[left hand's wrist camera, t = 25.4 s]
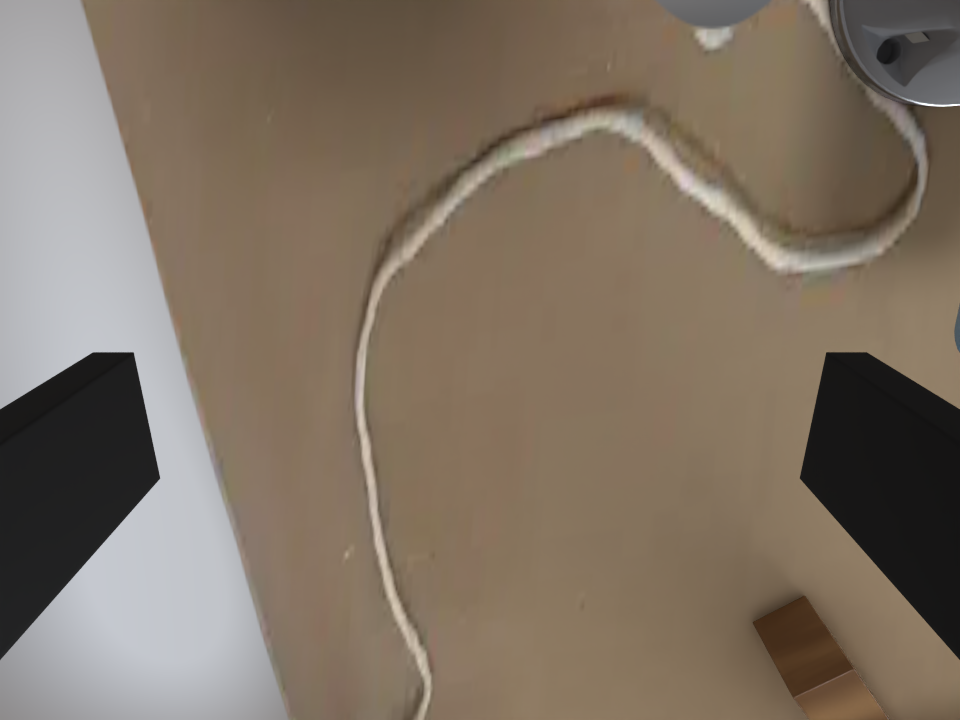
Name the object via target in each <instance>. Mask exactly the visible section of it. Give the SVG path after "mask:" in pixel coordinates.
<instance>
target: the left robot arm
mask: <svg viewBox="0 0 960 720" xmlns="http://www.w3.org/2000/svg"><path fill="white" fill-rule="evenodd" d="M830 8H831V17H832V24H833V28H834V32H835V36H836V39H837V42H838V44H839V47H840V49H841V51H842V54H843V56H844V58H845V59H846V61H847V63H848V64H849V66H850V67H851V69H852V70H853V71H854V72H855V74H856V75H857V76H858V77H859V78H860V79H861V80H862V81H863V82H864V83H865V84H866V85H867V86H869V87H870V88H871V89H873V90H874V91H875V92H877V93H879V94H881V95H882V96H884V97H886V98H889V99H891V100H893V101H896V102H900V103H903V104H908V105H914V106H926V107H934V106H956V105H960V0H830ZM955 342H956V346H957V349H958V350H959V352H960V305H959V310H958V315H957V319H956V324H955ZM159 479H160V475H159V471H158V466H157V461H156V456H155V452H154V447H153V442H152V438H151V433H150V428H149V423H148V419H147V414H146V409H145V404H144V399H143V395H142V390H141V385H140V381H139V376H138V371H137V366H136V362H135V357H134V353H133V352H130V353H129V352H128V353H126V352H125V353H124V352H118V353H117V352H115V353H114V352H112V353H111V352H109V353H107V352H100V353H99V352H96V353H92V354H90V355H88V356H87V357H85V358H83V359H82V360H80V361H78V362H77V363H75V364H74V365H72V366H70V367H69V368H67V369H65V370H64V371H62V372H60V373H59V374H57V375H56V376H54V377H52V378H51V379H49V380H47V381H46V382H44V383H43V384H41V385H39V386H38V387H36V388H34V389H33V390H31V391H29V392H28V393H26V394H25V395H23V396H21V397H20V398H18V399H16V400H15V401H13V402H12V403H10V404H8V405H7V406H5V407H3V408H2V409H0V659H1V658H2V657H3V656H4V655H5V654H6V653H7V652H8V650H9V649H10V648H11V647H12V646H13V645H14V644H15V642H16V641H17V640H18V639H19V638H20V637H21V636H22V635H23V633H24V632H25V631H26V630H27V629H28V628H29V627H30V625H31V624H32V623H33V622H34V621H35V620H36V619H37V618H38V616H39V615H40V614H41V613H42V612H43V611H44V610H45V608H46V607H47V606H48V605H49V604H50V603H51V602H52V600H53V599H54V598H55V597H56V596H57V595H58V594H59V593H60V591H61V590H62V589H63V588H64V587H65V586H66V585H67V584H68V582H69V581H70V580H71V579H72V578H73V577H74V576H75V574H76V573H77V572H78V571H79V570H80V569H81V568H82V566H83V565H84V564H85V563H86V562H87V561H88V560H89V559H90V557H91V556H92V555H93V554H94V553H95V552H96V551H97V549H98V548H99V547H100V546H101V545H102V544H103V543H104V542H105V540H106V539H107V538H108V537H109V536H110V535H111V533H112V532H113V531H114V530H115V529H116V528H117V527H118V526H119V525H120V523H121V522H122V521H123V520H124V519H125V518H126V517H127V515H128V514H129V513H130V512H131V511H132V510H133V509H134V507H135V506H136V505H137V504H138V503H139V502H140V501H141V500H142V498H143V497H144V496H145V495H146V494H147V493H148V492H149V490H150V489H151V488H152V487H153V486H154V485H155V484H156V483H157V481H158V480H159ZM800 479H801V480H802V481H803V483H804V484H805V485H806V486H807V487H808V488H809V489H810V490H811V492H812V493H813V494H814V495H815V496H816V497H817V498H818V500H819V501H820V502H821V503H822V504H823V505H824V506H825V507H826V509H827V510H828V511H829V512H830V513H831V514H832V515H833V517H834V518H835V519H836V520H837V521H838V522H839V523H840V525H841V526H842V527H843V528H844V529H845V530H846V531H847V532H848V534H849V535H850V536H851V537H852V538H853V539H854V540H855V542H856V543H857V544H858V545H859V546H860V547H861V548H862V549H863V551H864V552H865V553H866V554H867V555H868V556H869V557H870V559H871V560H872V561H873V562H874V563H875V564H876V565H877V566H878V568H879V569H880V570H881V571H882V572H883V573H884V574H885V576H886V577H887V578H888V579H889V580H890V581H891V582H892V584H893V585H894V586H895V587H896V588H897V589H898V590H899V591H900V593H901V594H902V595H903V596H904V597H905V598H906V599H907V601H908V602H909V603H910V604H911V605H912V606H913V607H914V608H915V610H916V611H917V612H918V613H919V614H920V615H921V616H922V618H923V619H924V620H925V621H926V622H927V623H928V624H929V625H930V627H931V628H932V629H933V630H934V631H935V632H936V633H937V635H938V636H939V637H940V638H941V639H942V640H943V641H944V642H945V644H946V645H947V646H948V647H949V648H950V649H951V650H952V652H953V653H954V654H955V655H956V656H957V657H958V658H959V660H960V409H958V408H957V407H955V406H953V405H952V404H950V403H948V402H947V401H945V400H944V399H942V398H940V397H939V396H937V395H935V394H934V393H932V392H931V391H929V390H927V389H926V388H924V387H922V386H921V385H919V384H917V383H916V382H914V381H913V380H911V379H909V378H908V377H906V376H904V375H903V374H901V373H900V372H898V371H896V370H895V369H893V368H891V367H890V366H888V365H886V364H885V363H883V362H882V361H880V360H878V359H877V358H875V357H873V356H872V355H870V354H868V353H867V352H826V357H825V362H824V366H823V371H822V376H821V381H820V385H819V390H818V395H817V399H816V404H815V409H814V414H813V418H812V423H811V428H810V433H809V437H808V442H807V447H806V452H805V456H804V461H803V466H802V471H801V475H800Z"/></svg>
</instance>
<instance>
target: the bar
mask: <svg viewBox="0 0 960 720" xmlns="http://www.w3.org/2000/svg"><path fill="white" fill-rule="evenodd" d="M753 624H754V626H755V628H756V630H757V631H758V633H759V635H760V637H761V639H762V641H763V643H764V645H765V646H766V648H767V650H768V652H769V654H770V656H771V658H772V659H773V661H774V663H775V665H776V667H777V669H778V671H779V672H780V674H781V676H782V678H783V680H784V682H785V684H786V685H787V687H788V689H789V691H790V693H791V695H792V697H793V698H794V700H795V701H796V702H797V704H798V705H799V706H800V708H801V709H802V710H803V712H804V713H805V714H806V716H807V717H808V718H809V720H889V718H888V717H887V715H886V714H885V713H884V711H883V710H882V708H881V707H880V705H879V704H878V702H877V701H876V699H875V698H874V696H873V695H872V693H871V692H870V691H869V689H868V688H867V686H866V685H865V683H864V682H863V680H862V679H861V677H860V676H859V674H858V673H857V671H856V670H855V669H854V667H853V666H852V664H851V663H850V661H849V660H848V658H847V657H846V655H845V654H844V652H843V651H842V649H841V648H840V647H839V645H838V644H837V642H836V641H835V639H834V638H833V636H832V635H831V633H830V632H829V630H828V629H827V627H826V626H825V625H824V623H823V622H822V620H821V619H820V617H819V616H818V614H817V613H816V611H815V610H814V608H813V607H812V605H811V604H810V603H809V601H808V600H807V598H806V597H805V596H803V597H801V598H799V599H797V600H795V601H793V602H792V603H790V604H788V605H786V606H784V607H782V608H780V609H778V610H776V611H774V612H772V613H770V614H768V615H766V616H764V617H762V618H760V619H758V620H756V621H754V622H753Z"/></svg>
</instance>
